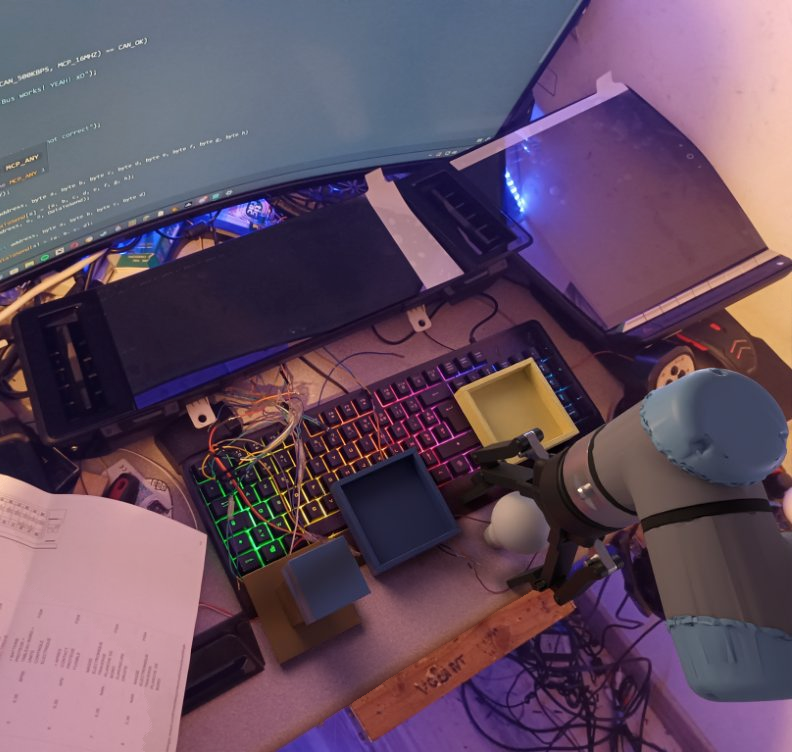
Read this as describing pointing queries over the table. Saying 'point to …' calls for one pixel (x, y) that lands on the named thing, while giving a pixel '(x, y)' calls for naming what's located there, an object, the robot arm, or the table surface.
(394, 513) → the navy tray
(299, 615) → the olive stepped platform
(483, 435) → the pale tray
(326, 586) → the blue block
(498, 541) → the lightbulb
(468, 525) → the table surface
